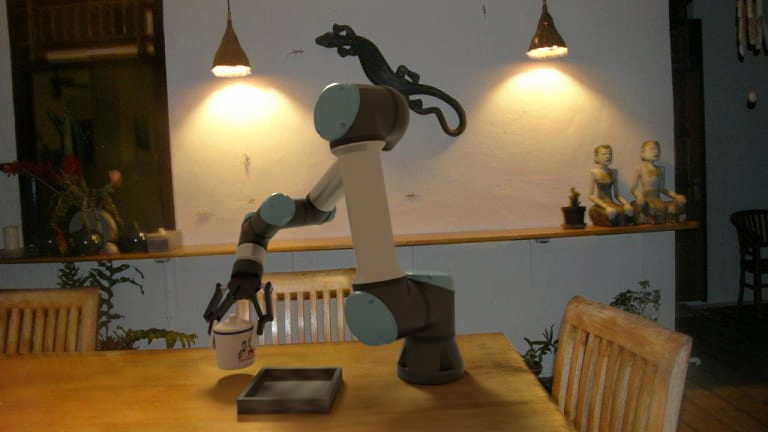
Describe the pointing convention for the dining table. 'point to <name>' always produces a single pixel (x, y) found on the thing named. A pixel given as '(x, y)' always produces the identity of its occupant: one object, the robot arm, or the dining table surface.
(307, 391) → the tea tray
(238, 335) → the teacup with lid
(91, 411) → the dining table surface
